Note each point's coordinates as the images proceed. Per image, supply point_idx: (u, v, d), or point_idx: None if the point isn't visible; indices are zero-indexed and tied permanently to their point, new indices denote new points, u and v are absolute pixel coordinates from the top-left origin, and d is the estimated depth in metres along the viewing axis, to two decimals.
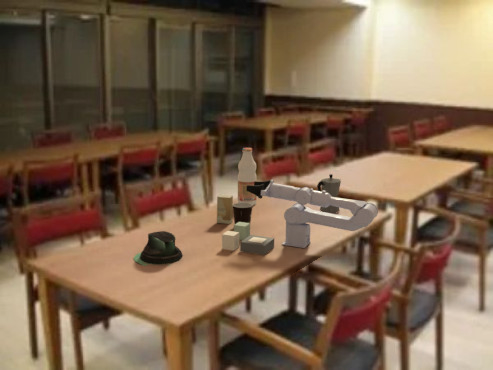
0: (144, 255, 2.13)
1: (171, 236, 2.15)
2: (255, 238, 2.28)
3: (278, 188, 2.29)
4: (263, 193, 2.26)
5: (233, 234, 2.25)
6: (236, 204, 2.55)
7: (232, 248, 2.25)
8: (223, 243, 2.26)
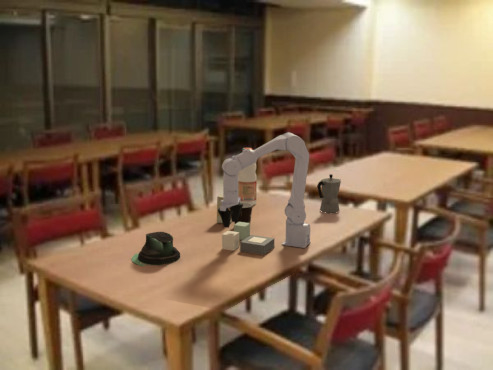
0: (142, 256, 2.12)
1: (169, 236, 2.14)
2: (255, 238, 2.28)
3: (224, 193, 2.22)
4: (222, 207, 2.18)
5: (233, 234, 2.25)
6: None
7: (232, 248, 2.25)
8: (223, 243, 2.26)
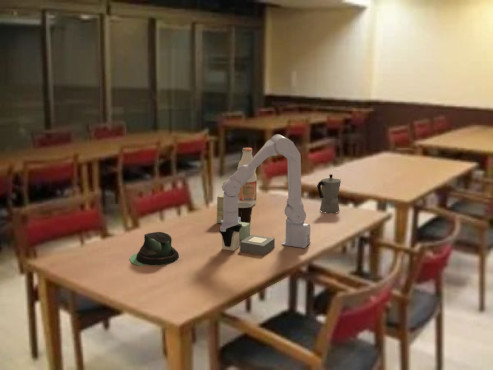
0: (140, 256, 2.12)
1: (167, 237, 2.14)
2: (255, 238, 2.28)
3: (224, 213, 2.24)
4: (222, 228, 2.20)
5: (233, 234, 2.25)
6: None
7: (232, 248, 2.25)
8: (223, 243, 2.26)
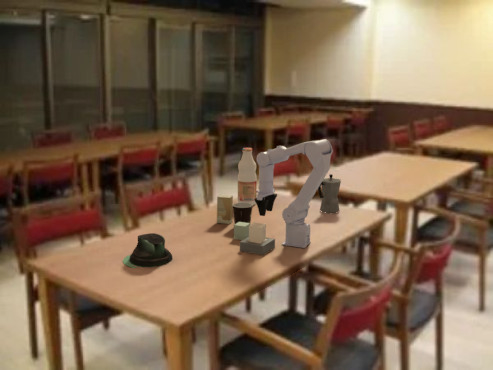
0: (133, 258, 2.10)
1: (161, 238, 2.12)
2: None
3: (260, 183, 2.36)
4: (259, 197, 2.32)
5: (260, 226, 2.23)
6: (236, 204, 2.55)
7: (259, 240, 2.23)
8: (250, 235, 2.24)
